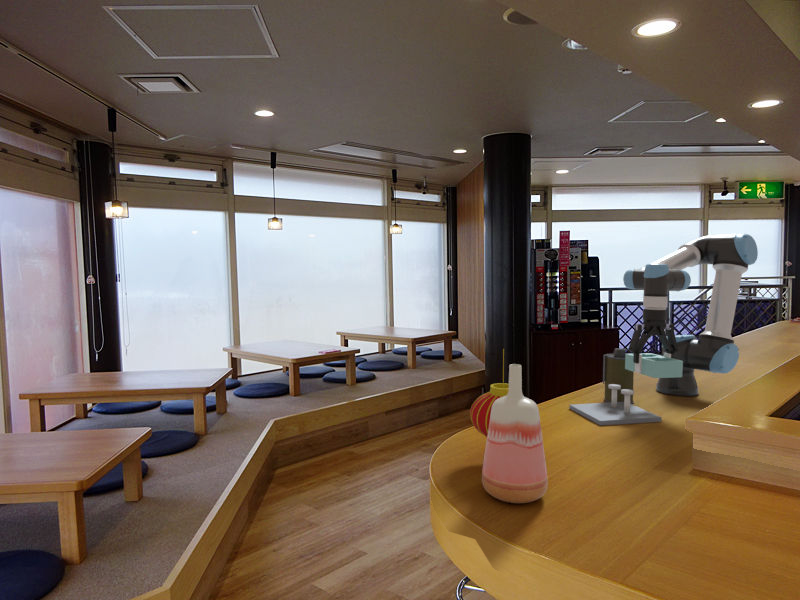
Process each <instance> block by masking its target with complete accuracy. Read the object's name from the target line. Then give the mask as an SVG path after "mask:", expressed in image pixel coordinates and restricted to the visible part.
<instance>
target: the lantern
mask: <svg viewBox="0 0 800 600" xmlns="http://www.w3.org/2000/svg"><path fill="white" fill-rule="evenodd" d="M502 356H503V357H502V358H503V359H502V364H503V365H502V383H501V382H500V383H499V382H498V383H492V384H490V390H489V391H488V392H486V393H483V394H481V395H479V396H478V398H476V400H474V402H473V403H472V404H471V408H470V410H469V417H470V421H471V423H472V424H473V427H474V428H475V430H477V432H478V433H480V434H481V435H483V436H484V437H486V438H487V435H488V428H489V422H490V415H491V409H492V405H493V403H494V401H495V400H497V399H498V398H501V397H503V396H506V395H507V394H508V391H509V383H504V378H505V376H504V375H505V373H504V371H505V370H504V369H505V367H504V366H505V358H504V356H505V348H503V349H502Z"/></svg>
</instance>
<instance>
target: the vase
mask: <svg viewBox="0 0 800 600" xmlns="http://www.w3.org/2000/svg"><path fill="white" fill-rule="evenodd" d="M508 368H509V371H508V384H509V391H508V394H507V395H506V396H503V397H501V398H498V399H497V400H495V401H494V403H493V405H492V409H491V415H490V422H489V428H488V435H487V437H486V442H485V450H484V455H483V456H484V457H483V463H482V469H481V472H482V473H481V484H482V487H483V489H484V490H485V492H486V493H488V494H489V495H490V496H491V497H493V498H495V499H497V500H499V501H502V502H505V503H509V502H510V503H511V504H529V503H532V502H535V501H537V500H539V499H541V498H542V497H543V496H544V495H545V494H546V492H547V489H548V481H549V480H548V473H547V472H548V471H547V464H546V456H545V449H544V440H543V439H544V438H543V433H542V426H541V424H542V423H541V418H540V411H539V407H538V404H537V403H536V402H535V401H534V400H532V399H530V398H528V397H526V396H524V394H523V389H522V388H523V385H522V384H523V382H522V381H523V379H522V377H523V376H522V372H523V371H522V369H523V368H522V365H521V364H519V363H518V364H517V363H512V364H509V366H508Z"/></svg>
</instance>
